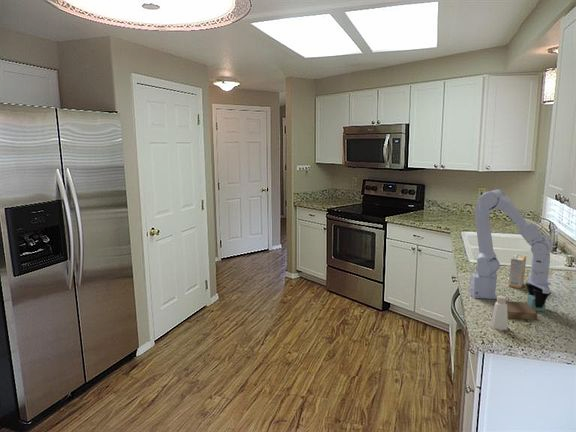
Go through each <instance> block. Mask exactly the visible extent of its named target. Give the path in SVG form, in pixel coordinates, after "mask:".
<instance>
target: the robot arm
mask: <svg viewBox="0 0 576 432" xmlns="http://www.w3.org/2000/svg"><path fill="white" fill-rule="evenodd" d="M493 210H499V211H501V212H505V214H506V215H507V216H508V217H509V218H510V219H511V220H512V221H513V223H514V224H515V225H516V226H517V227H518V230H517V231H518V233H519V234H520V235H521V237H522V238H523V239H524V240H525V242H526V243H527V244H528V245H529V246H530V251H531V253H532V258H531V264H530V265H531V266H530V275H528V277H527V281H528V283H527V282H526V283H525V286H526V289H527V291H528V295H535V306H536V307H537V308H542V307H543V305H544V303H545V301H547V298H549V296H550V295H551V294H552V292H551V288H549V287H550V286H551V285H552V283H551V282H550V281H549V273H550V263H551V260H550V259H551V252H552V251H553V250H554V245H553V242H552V240H551V239H548V238H547V237H546V235H543V234H542V232H540V230H539V229H538V228H539V226H538V225H537V224H534V223H533V222H530V221H529V222H528V221H527V220H526V219H525V218H524V216H523V215H522V213H520V211H519V210H518V208H517V207H516V206H515V204H514V203H513V202H512V200H511V199H510V197H509V196H508V195H506V193H505V192H504V191H503V190H501V189H497V188H496V189H493V190H489V191H485V192H483V193H482V194H481V195H480V196H479V197H478V201H477V204H476V206H475V208H474V211H473V213H474V221H475V229H476V237H477V238H476V239H477V244H478V245H477V246H478V255H477V257H476V260H477V261H476V266H475V271H476V274H475V273H474V274H471V276H470V284H469V293H470V295H472V297H473V298H474V299H489V300H490V299H491V300H497V296H498V295H497V293H496V291H497V280H498V273H497V271H499V269H500V267H501V265H500V264H501V263H500V261H499V260H498V259H497V254H496V253H495V251H494V245H493V237H492V228H491V221H490V214H491V212H492V211H493Z"/></svg>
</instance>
